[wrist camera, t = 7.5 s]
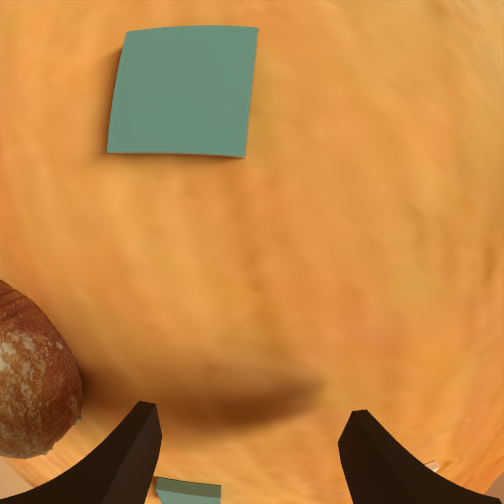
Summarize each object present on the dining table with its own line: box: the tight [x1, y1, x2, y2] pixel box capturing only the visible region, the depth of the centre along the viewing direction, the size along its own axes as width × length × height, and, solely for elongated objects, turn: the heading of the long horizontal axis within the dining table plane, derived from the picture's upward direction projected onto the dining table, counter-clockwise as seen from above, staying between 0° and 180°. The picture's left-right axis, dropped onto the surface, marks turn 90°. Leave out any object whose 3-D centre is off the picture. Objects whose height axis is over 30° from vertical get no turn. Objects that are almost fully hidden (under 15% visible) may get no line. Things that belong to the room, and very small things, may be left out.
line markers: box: [107, 26, 440, 504], centre depth 11 cm, size 26×20×1 cm
